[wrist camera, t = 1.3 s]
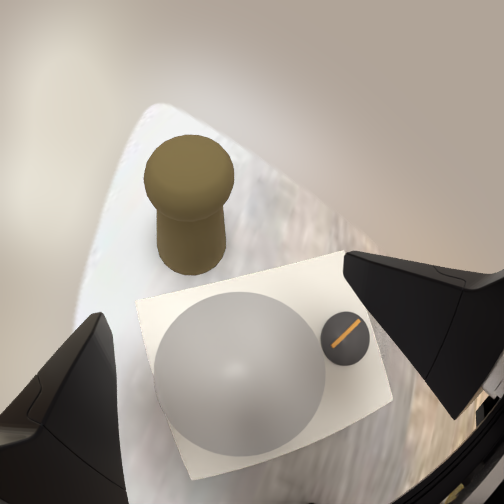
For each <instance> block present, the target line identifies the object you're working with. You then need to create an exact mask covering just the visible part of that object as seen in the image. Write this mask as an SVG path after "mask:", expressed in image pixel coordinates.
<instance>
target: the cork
mask: <svg viewBox="0 0 504 504" xmlns="http://www.w3.org/2000/svg"><path fill="white" fill-rule="evenodd" d="M144 184H145V190H146V193H147V196H148V198H149V200H150V201H151V203H152V204H153V206H154V207H155V208H156V209H157V248H158V252H159V256H160V257H161V259H162V260H163V262H164V264H165V265H166V266H168V267H169V268H170V269H172V270H173V271H174V272H177V273H180V274H183V275H198V274H202V273H205V272H208V271H209V270H211V269H212V268H214V267H215V266H216V265H217V264H218V263H219V261H220V260H221V259H222V257H223V254H224V252H225V249H226V236H225V224H224V213H223V205H224V204H225V202H226V201H227V200H228V198H229V196H230V193H231V191H232V188H233V184H234V168H233V164H232V161H231V159H230V156H229V155H228V153H227V152H226V151H225V150H224V149H223V148H222V147H221V146H220V145H219V144H218V143H217V142H215V141H213V140H212V139H210V138H207V137H203V136H200V135H183V136H178V137H174V138H172V139H170V140H167V141H165V142H164V143H162V144H161V145H160V146H159V147H158V148H156V150H155V151H154V152H153V153H152V155H151V157H150V158H149V160H148V161H147V164H146V168H145V173H144Z"/></svg>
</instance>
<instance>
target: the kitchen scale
mask: <svg viewBox="0 0 504 504" xmlns="http://www.w3.org/2000/svg"><path fill="white" fill-rule="evenodd" d="M344 255H345V252H344V250H342V251H338V252H335V253H331V254H327V255H323V256H319V257H315V258H312V259H308V260H304V261H300V262H296V263H292V264H288V265H284V266H280V267H276V268H272V269H268V270H264V271H260V272H256V273H252V274H248V275H244V276H240V277H236V278H232V279H227V280H223V281H219V282H215V283H211V284H206V285H202V286H198V287H194V288H189V289H185V290H181V291H176V292H172V293H167V294H163V295H159V296H154V297H150V298H145V299H141V300H136V301H135V304H136V309H137V314H138V318H139V323H140V328H141V332H142V336H143V340H144V344H145V348H146V352H147V356H148V360H149V364H150V367H151V371H152V374H153V378H154V386H155V391H156V395H157V399H158V401H159V404H160V406H161V409H162V411H163V412H164V414H165V416H166V418H167V421H168V424H169V427H170V429H171V432H172V435H173V437H174V440H175V443H176V445H177V448H178V450H179V453H180V455H181V457H182V460H183V462H184V464H185V467H186V469H187V471H188V474H189V476H190V478H191V480H197V479H202V478H207V477H211V476H216V475H220V474H224V473H228V472H232V471H235V470H239V469H243V468H246V467H249V466H253V465H256V464H259V463H262V462H265V461H268V460H271V459H274V458H277V457H279V456H282V455H285V454H287V453H290V452H293V451H295V450H298V449H300V448H302V447H305V446H307V445H309V444H312V443H314V442H316V441H319V440H321V439H323V438H325V437H327V436H329V435H331V434H333V433H336V432H338V431H340V430H342V429H343V428H345V427H347V426H349V425H351V424H353V423H355V422H357V421H359V420H360V419H362V418H364V417H366V416H367V415H369V414H371V413H373V412H374V411H376V410H378V409H379V408H381V407H383V406H384V405H386V404H387V403H389V402H391V401H392V400H393V397H392V393H391V389H390V386H389V382H388V378H387V375H386V371H385V367H384V364H383V361H382V357H381V354H380V350H379V347H378V344H377V341H376V338H375V334H374V331H373V328H372V325H371V322H370V319H369V316H368V313H367V310H366V308H365V306H364V305H363V304H362V302H361V301H360V300H359V298H358V297H357V295H356V294H355V292H354V291H353V289H352V288H351V287H350V285H349V284H348V282H347V281H346V280H345V278H344V276H343V261H344Z"/></svg>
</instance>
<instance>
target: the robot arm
mask: <svg viewBox="0 0 504 504" xmlns="http://www.w3.org/2000/svg"><path fill="white" fill-rule="evenodd" d="M343 276H344V278H345V280H346V281H347V282H348V284H349V285H350V287H351V288H352V289H353V291H354V292H355V294H356V295H357V297H358V298H359V300H360V301H361V302H362V304H363V305H364V306H365V308H366V309H367V310H368V311H369V312H370V313H371V315H372V316H373V317H374V318H375V319H376V321H377V322H378V323H379V324H380V325H381V327H382V328H383V329H384V330H385V331H386V333H387V334H388V335H389V336H390V338H391V339H392V340H393V341H394V342H395V344H396V345H397V346H398V347H399V349H400V350H401V351H402V352H403V354H404V355H405V356H406V357H407V359H408V360H409V361H410V362H411V364H412V365H413V366H414V368H415V369H416V370H417V371H418V373H419V374H420V375H421V377H422V378H423V379H424V380H425V382H426V383H427V385H428V386H429V387H430V389H431V390H432V391H433V393H434V394H435V395H436V397H437V398H438V399H439V401H440V402H441V403H442V405H443V406H444V407H445V409H446V410H447V412H448V413H449V414H450V416H451V417H452V418H453V419H454V420H456V419H457V418H458V417H459V416H460V415H461V414H462V413H463V412H464V411H465V410H466V409H467V408H468V406H469V405H470V404H471V403H472V402H473V401H474V400H475V399H476V398H477V397H478V396H479V394H480V393H481V392H482V391H483V390H484V391H485V392H486V393H487V394H488V395H489V396H488V397H487V398H486V400H485V401H484V402H483V403H482V405H481V406H480V407H479V408H478V410H477V411H476V429H475V430H474V431H473V432H472V433H471V434H470V435H469V437H468V438H467V439H466V440H465V441H464V442H463V443H462V444H461V445H460V446H459V447H458V448H457V449H456V450H455V451H454V452H453V453H452V454H451V455H450V456H449V457H448V458H447V459H446V460H444V461H443V462H442V463H441V464H440V465H439V466H438V467H437V468H435V469H434V470H433V471H432V472H431V473H430V474H428V475H427V476H426V477H425V478H424V479H422V480H421V481H420V482H419V483H417V484H416V485H415V486H413V487H412V488H411V489H410V490H408V491H407V492H405V493H404V494H403V495H401V496H400V497H398V498H397V499H396V500H394V501H393V502H391V503H390V504H440V503H441V502H442V501H443V500H444V499H445V498H446V497H448V496H449V495H450V494H451V493H452V492H453V491H454V490H455V489H456V488H457V487H458V486H459V485H460V484H462V485H463V486H464V487H465V488H463V489H462V490H461V491H459V492H458V493H457V494H456V495H455V496H456V498H455V499H454V500H453V501H451V502H450V503H448V504H504V269H503V270H502V271H499V272H497V273H494V274H483V273H476V272H470V271H463V270H457V269H451V268H445V267H440V266H434V265H429V264H424V263H419V262H414V261H408V260H403V259H398V258H392V257H387V256H381V255H376V254H370V253H365V252H359V251H351V252H347V253H345V255H344V261H343ZM0 504H129V502H128V497H127V492H126V487H125V481H124V474H123V467H122V459H121V451H120V441H119V428H118V412H117V377H116V365H115V356H114V345H113V335H112V332H111V329H110V327H109V325H108V323H107V320H106V318H105V316H104V314H103V313H102V312H98V313H93V314H91V315H90V316H89V317H88V318H87V319H86V320H85V321H84V322H83V323H82V324H81V325H80V326H79V327H78V328H77V329H76V330H75V332H74V333H73V334H72V335H71V336H70V337H69V338H68V339H67V340H66V341H65V342H64V343H63V345H62V346H61V347H60V348H59V349H58V350H57V351H56V352H55V354H54V355H53V356H52V357H51V358H50V359H49V360H48V361H47V362H46V364H45V365H44V366H43V367H42V368H41V369H40V371H39V372H38V374H37V375H35V376H34V378H33V379H32V380H31V381H30V383H29V384H28V385H27V386H26V387H25V388H24V389H23V391H22V392H21V393H20V394H19V395H18V396H17V397H16V398H15V399H14V400H13V401H12V403H11V404H10V405H9V406H8V407H7V408H6V409H5V410H4V411H3V412H2V413H1V414H0ZM310 504H314V503H310Z"/></svg>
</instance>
